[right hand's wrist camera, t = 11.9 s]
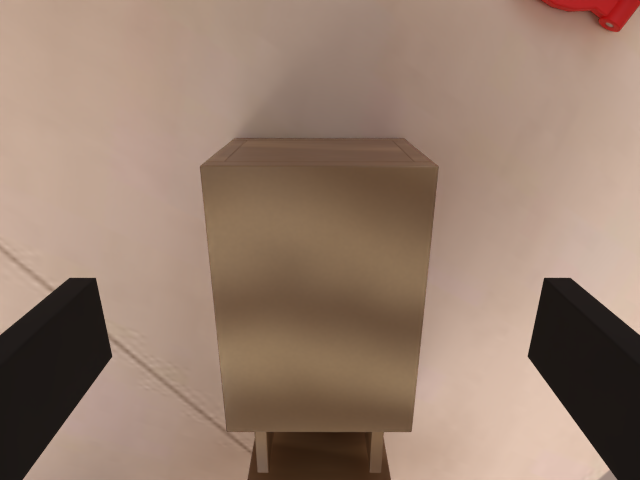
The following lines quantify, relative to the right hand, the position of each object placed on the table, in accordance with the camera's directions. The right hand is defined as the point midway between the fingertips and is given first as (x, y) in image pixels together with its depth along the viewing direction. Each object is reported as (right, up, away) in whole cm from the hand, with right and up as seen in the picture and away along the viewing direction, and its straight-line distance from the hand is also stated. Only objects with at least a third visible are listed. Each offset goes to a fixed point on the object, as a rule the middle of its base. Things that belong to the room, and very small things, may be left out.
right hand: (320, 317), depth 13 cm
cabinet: (0, +1, +20) cm, 20 cm away
